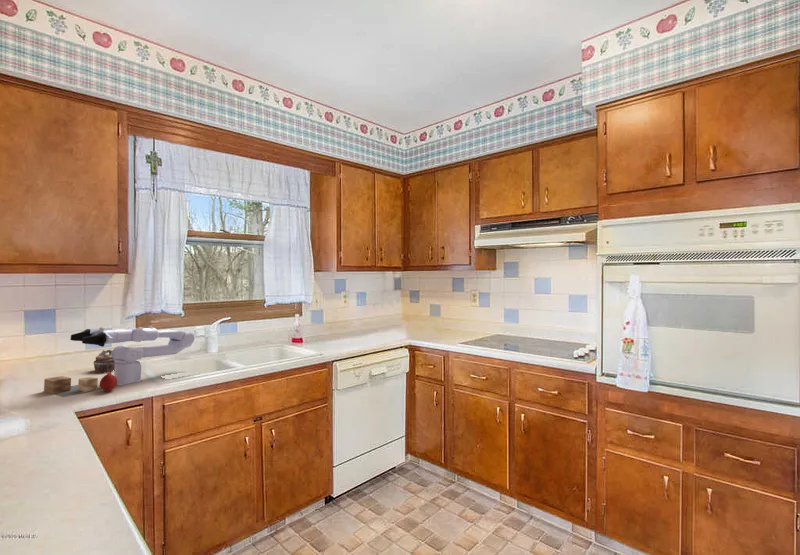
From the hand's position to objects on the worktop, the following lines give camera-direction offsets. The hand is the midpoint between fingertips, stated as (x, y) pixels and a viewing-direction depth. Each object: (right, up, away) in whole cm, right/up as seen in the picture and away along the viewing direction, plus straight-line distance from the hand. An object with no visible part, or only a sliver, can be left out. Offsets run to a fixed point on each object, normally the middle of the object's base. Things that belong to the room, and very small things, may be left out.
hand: (76, 339), depth 163 cm
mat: (-3, -21, +2) cm, 21 cm away
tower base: (-8, -20, 0) cm, 22 cm away
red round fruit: (+10, -22, +3) cm, 24 cm away
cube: (+2, -21, +3) cm, 21 cm away
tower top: (-7, -18, 0) cm, 19 cm away
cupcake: (-15, -21, +37) cm, 45 cm away
